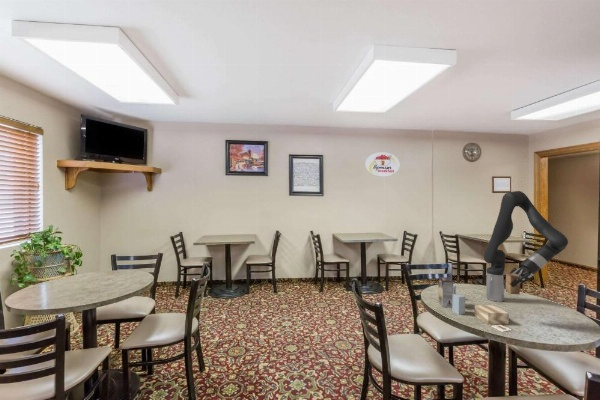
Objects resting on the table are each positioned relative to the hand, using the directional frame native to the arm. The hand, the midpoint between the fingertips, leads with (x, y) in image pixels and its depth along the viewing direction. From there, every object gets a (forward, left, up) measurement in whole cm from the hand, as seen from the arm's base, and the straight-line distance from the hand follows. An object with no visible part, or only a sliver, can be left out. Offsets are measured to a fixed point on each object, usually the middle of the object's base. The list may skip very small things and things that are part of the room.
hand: (508, 284), depth 153 cm
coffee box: (+16, -28, -20) cm, 38 cm away
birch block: (+8, -4, -20) cm, 22 cm away
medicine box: (+4, -38, -20) cm, 43 cm away
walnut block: (-2, +1, -5) cm, 5 cm away
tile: (+13, +6, -20) cm, 25 cm away
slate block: (+18, -16, -20) cm, 31 cm away
